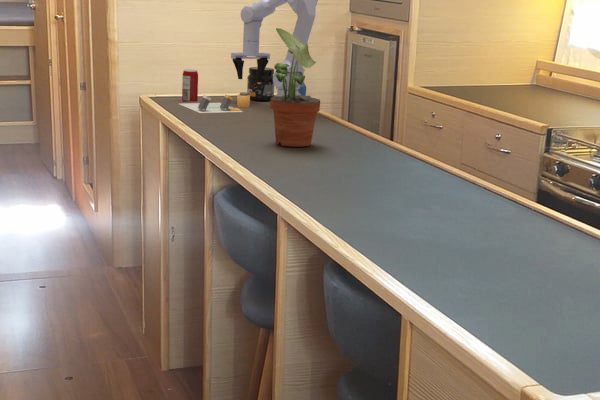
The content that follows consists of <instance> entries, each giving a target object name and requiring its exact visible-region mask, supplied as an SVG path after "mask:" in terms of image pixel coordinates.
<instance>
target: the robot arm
mask: <svg viewBox="0 0 600 400" xmlns="http://www.w3.org/2000/svg"><path fill="white" fill-rule="evenodd" d="M318 1H319V0H259V1H257V2H253V3H252V4H251V5H250V6H249V5H245V6H244V7H242V8H241V10H240V19H241V21H242V22H243V33H242V35H243V39H242V52H230V59H232V62H233V65H234V68H235V70H236V74H237V79H238V80H243V74H244V73H243V72H244V71H243V70H244V65H245V61H244V60H246V59H249V60H252V59H253V60H254V59H255V60H256V64H257V66H256V67H257V68H258V71H257V79H262V75H263V72H264V69H265V67H267V65H268V64H269V60H270V59H271V53H269V52H260V35H261V34H260V33H261V32H260V31H261V29H260V28H261V27H262V22H263V21H264V18H266V17H268V16H270V15H271V14H274V13H275V11H276V9H277V8H278V7H282V5H284V4H288V6H289V7H290V8H291V9H292V11H293V12H294V13H295V14H296V16H297V20H296V22H295V26H294V28H293V33H292V35H293V36H294V37H295V38H297V39H298V40H299V41H300V42H301V43H302V44H304V46H305V45H307V44H308V41H309V38H310V35H311V32H312V29H313V25H314V22H315V19H316V14H317V13H316V8H317V4H318ZM288 50H290V49H289V48H288V49H287V52H286V56H285V59H284V60H283V61H282V62H281V63H282V65H283V64H288V65H289V66H288V67H287V71H288V72H290V71H291V66H292V61H293V56H294V61H293V69H292V75H293V71H294V67H295V64H296V61H297V59H296V57H295V55H294V54H291V53H290V52H289V51H288ZM290 51H292V50H290ZM243 59H244V60H243ZM297 62H298V61H297ZM305 69H306V68H305V67H303V66H302V65H300V63H299V62H298V71H297V64H296V68H295V73H294V75H295V76H296V71H297V75H303V76H305V75H304V73H305V71H306V70H305ZM276 74H277V72H276V70H274V74H273V82H274V87H275V89H277V90H276V91H277V93H276V96H284V90H283V80H282V82H279V81H278V79H277V78H276ZM285 78H286V81H287V95H288V86H289V78H290V73H287V76H286V77H285ZM291 81H292V78H291ZM284 83H285V80H284ZM293 83H294V80H293ZM302 84H303V83H302ZM300 86H301V84H298V83H297V81H296V90H295V95H301V94H300V93H299V92H298V89H300ZM285 89H286V84H285Z"/></svg>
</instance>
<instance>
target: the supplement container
mask: <svg viewBox="0 0 600 400" xmlns="http://www.w3.org/2000/svg"><path fill="white" fill-rule="evenodd" d="M257 71H258V68H257V66H251V67H249V68H248V73H249V74H248V75H247V81H246V82H247V84H246V85H247V87H246V93H248V95H250V101H253V102H262V103H263V102H264V103H265V102H270V99H271V97H275V85H274V82H273V75H274V73H275V68H272V67H267V66H266V67H265V69H264V72H263V75H262V79H257Z"/></svg>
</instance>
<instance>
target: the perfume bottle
mask: <svg viewBox="0 0 600 400" xmlns="http://www.w3.org/2000/svg"><path fill="white" fill-rule="evenodd" d="M298 92H299V93H300V94H301V95H304V96H307V86H306V84H305V82H304V81H303V84H302V85H301V86H300V89H298Z"/></svg>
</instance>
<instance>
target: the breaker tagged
mask: <svg viewBox="0 0 600 400" xmlns="http://www.w3.org/2000/svg"><path fill="white" fill-rule="evenodd" d="M233 98H234V97H233V96H230V95H228V94H225V95H224V97H223V100H222V101H221V102H220V103H221V105H220V109H222V110H224V111H226V110H228V107H229V106H231V103H232V101H233V100H234V99H233Z"/></svg>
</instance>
